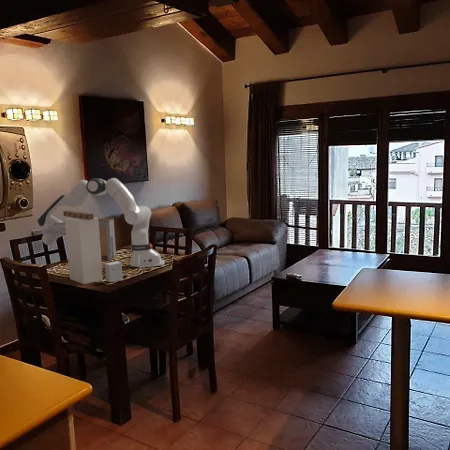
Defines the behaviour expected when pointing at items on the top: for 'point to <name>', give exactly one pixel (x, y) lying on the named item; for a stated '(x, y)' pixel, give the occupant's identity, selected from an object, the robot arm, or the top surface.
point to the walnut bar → (78, 215)
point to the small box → (113, 271)
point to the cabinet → (107, 238)
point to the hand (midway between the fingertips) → (61, 221)
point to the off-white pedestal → (83, 250)
